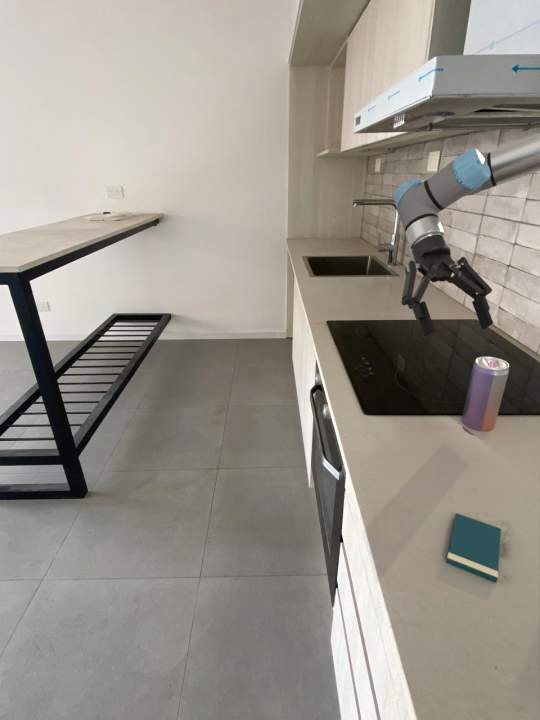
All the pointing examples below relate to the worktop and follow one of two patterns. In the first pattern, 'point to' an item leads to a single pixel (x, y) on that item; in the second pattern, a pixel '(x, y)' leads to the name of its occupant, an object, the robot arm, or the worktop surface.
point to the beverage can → (485, 394)
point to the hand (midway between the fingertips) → (459, 329)
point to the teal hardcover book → (475, 547)
